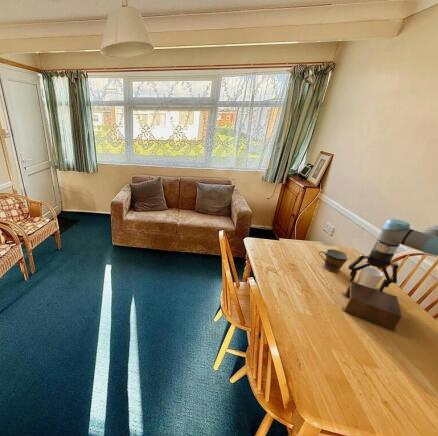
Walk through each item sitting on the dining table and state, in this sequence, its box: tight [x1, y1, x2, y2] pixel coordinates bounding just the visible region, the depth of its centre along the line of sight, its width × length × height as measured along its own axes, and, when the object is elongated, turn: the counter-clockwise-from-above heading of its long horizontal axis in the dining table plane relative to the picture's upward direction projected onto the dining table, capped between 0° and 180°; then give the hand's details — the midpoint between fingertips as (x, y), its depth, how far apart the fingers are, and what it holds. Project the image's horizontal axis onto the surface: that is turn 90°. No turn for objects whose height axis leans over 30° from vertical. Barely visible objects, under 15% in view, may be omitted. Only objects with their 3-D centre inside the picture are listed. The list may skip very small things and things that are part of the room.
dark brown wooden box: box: [343, 281, 403, 331], centre depth 103 cm, size 16×14×8 cm
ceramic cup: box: [318, 248, 349, 273], centre depth 131 cm, size 13×10×10 cm
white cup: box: [356, 266, 384, 290], centre depth 116 cm, size 8×8×10 cm
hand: (365, 286), depth 118 cm, fingers open, 11 cm apart
